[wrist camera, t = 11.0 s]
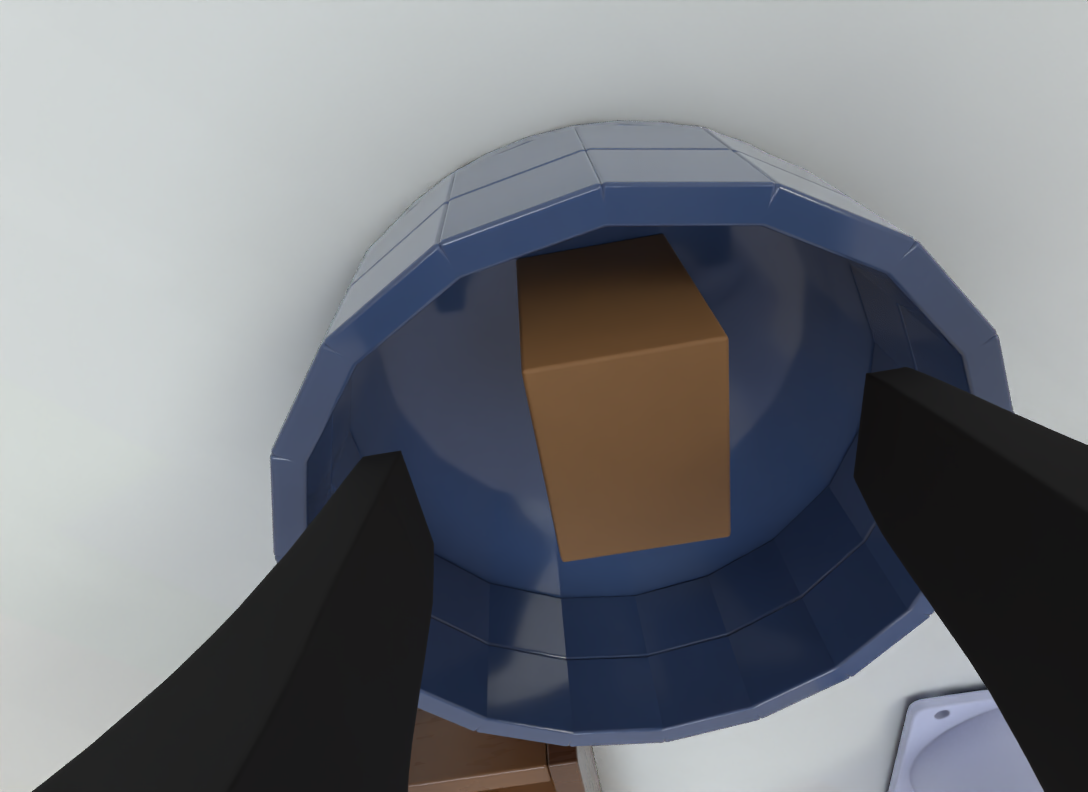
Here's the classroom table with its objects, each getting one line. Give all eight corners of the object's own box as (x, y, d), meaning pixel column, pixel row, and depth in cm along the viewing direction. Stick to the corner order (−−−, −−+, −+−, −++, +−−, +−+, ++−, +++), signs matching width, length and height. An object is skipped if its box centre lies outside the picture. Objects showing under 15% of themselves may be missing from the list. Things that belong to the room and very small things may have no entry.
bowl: (926, 55, 12) (1121, 89, 8) (857, 560, 19) (944, 704, 15) (231, 182, 13) (114, 270, 9) (416, 627, 20) (395, 782, 16)
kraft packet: (663, 232, 13) (730, 336, 9) (674, 398, 15) (731, 538, 11) (515, 258, 13) (520, 371, 9) (546, 419, 15) (561, 564, 12)
